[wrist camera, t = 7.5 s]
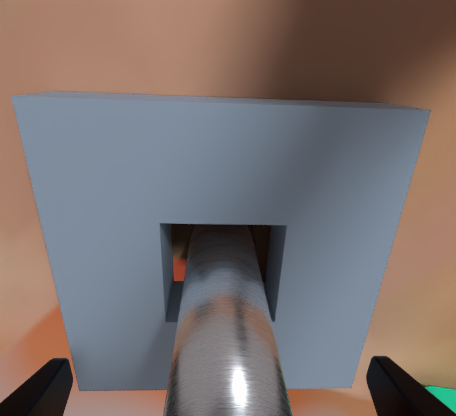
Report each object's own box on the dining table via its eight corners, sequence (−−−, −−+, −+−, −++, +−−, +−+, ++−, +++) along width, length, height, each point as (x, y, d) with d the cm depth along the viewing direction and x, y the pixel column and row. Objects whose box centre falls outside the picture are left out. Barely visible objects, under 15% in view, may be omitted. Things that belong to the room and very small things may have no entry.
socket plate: (386, 102, 13) (430, 110, 11) (331, 342, 19) (351, 387, 16) (55, 91, 13) (11, 95, 10) (99, 343, 18) (79, 390, 15)
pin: (254, 214, 15) (313, 425, 6) (250, 268, 16) (293, 510, 7) (189, 213, 15) (149, 428, 6) (190, 267, 16) (158, 514, 7)
